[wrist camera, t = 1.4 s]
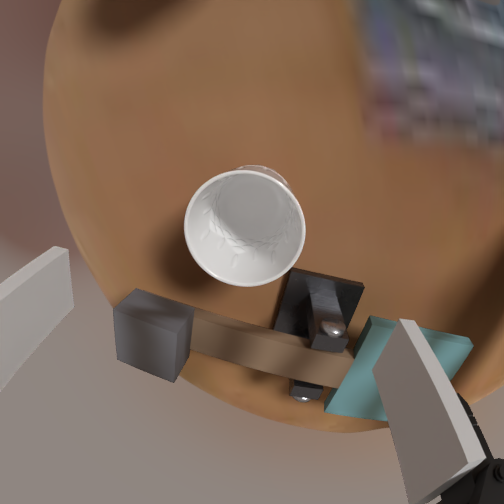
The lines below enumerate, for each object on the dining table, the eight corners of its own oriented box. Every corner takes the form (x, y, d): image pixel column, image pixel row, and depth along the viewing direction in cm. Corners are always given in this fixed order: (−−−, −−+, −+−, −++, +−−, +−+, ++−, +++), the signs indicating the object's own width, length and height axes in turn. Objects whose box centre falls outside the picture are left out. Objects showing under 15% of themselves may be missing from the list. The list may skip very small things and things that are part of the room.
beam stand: (362, 282, 31) (383, 326, 23) (326, 364, 35) (333, 413, 28) (291, 267, 31) (294, 310, 23) (264, 353, 35) (260, 403, 28)
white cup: (291, 242, 30) (296, 292, 20) (213, 234, 30) (183, 279, 21) (301, 163, 27) (313, 177, 17) (217, 155, 27) (185, 166, 18)
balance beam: (468, 337, 23) (488, 371, 18) (414, 414, 28) (421, 449, 23) (145, 253, 27) (112, 278, 22) (143, 348, 31) (119, 379, 26)
